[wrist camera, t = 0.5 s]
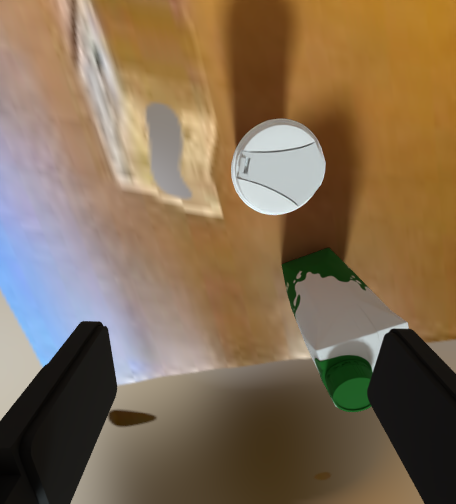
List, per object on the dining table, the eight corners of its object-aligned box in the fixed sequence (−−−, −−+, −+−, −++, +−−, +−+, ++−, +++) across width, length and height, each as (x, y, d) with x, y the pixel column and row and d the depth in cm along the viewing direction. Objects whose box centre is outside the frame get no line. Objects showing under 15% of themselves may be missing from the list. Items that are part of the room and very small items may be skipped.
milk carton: (273, 260, 40) (315, 365, 21) (334, 239, 39) (434, 330, 20) (290, 308, 43) (340, 435, 25) (347, 289, 42) (444, 408, 23)
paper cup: (224, 185, 36) (224, 211, 23) (234, 120, 33) (240, 108, 20) (283, 194, 36) (315, 225, 23) (297, 131, 33) (344, 127, 21)
